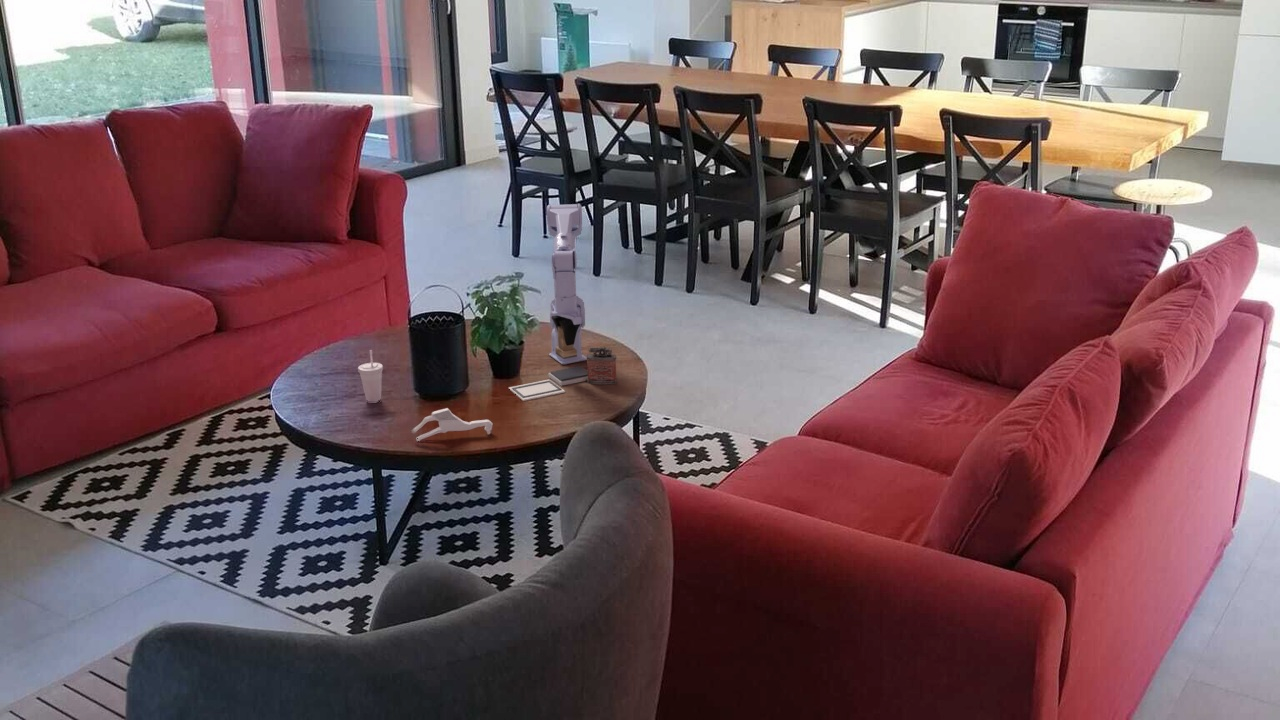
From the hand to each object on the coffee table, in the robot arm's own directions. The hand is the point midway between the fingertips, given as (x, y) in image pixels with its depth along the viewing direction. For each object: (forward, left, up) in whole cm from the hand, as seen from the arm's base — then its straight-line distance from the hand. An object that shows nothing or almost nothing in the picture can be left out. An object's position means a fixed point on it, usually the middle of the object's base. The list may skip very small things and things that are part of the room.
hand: (567, 342), depth 333 cm
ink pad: (0, +1, -10) cm, 10 cm away
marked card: (+4, -11, -10) cm, 16 cm away
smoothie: (-11, -51, -11) cm, 53 cm away
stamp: (0, 0, -3) cm, 4 cm away
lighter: (+7, +7, -11) cm, 14 cm away
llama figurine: (+21, -41, -11) cm, 47 cm away
